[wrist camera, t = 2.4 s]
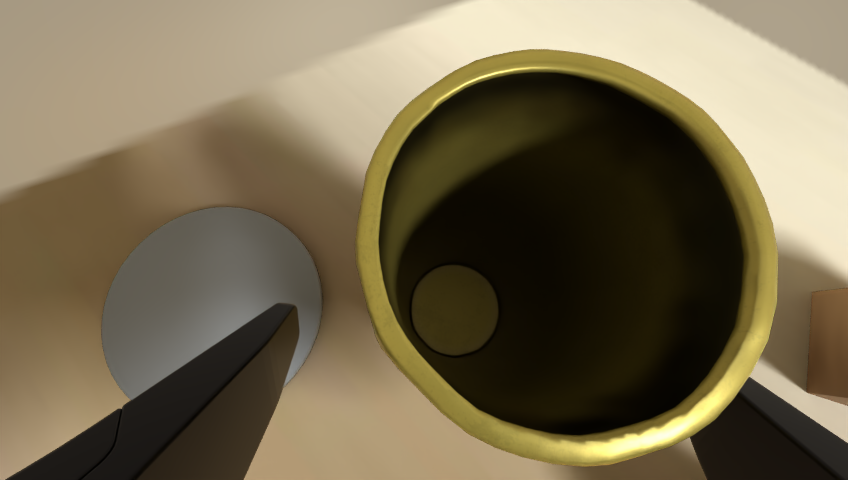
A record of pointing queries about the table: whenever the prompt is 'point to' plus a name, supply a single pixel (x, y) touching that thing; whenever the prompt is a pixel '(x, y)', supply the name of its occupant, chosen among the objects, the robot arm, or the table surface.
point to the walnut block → (829, 346)
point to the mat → (204, 292)
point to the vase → (566, 257)
